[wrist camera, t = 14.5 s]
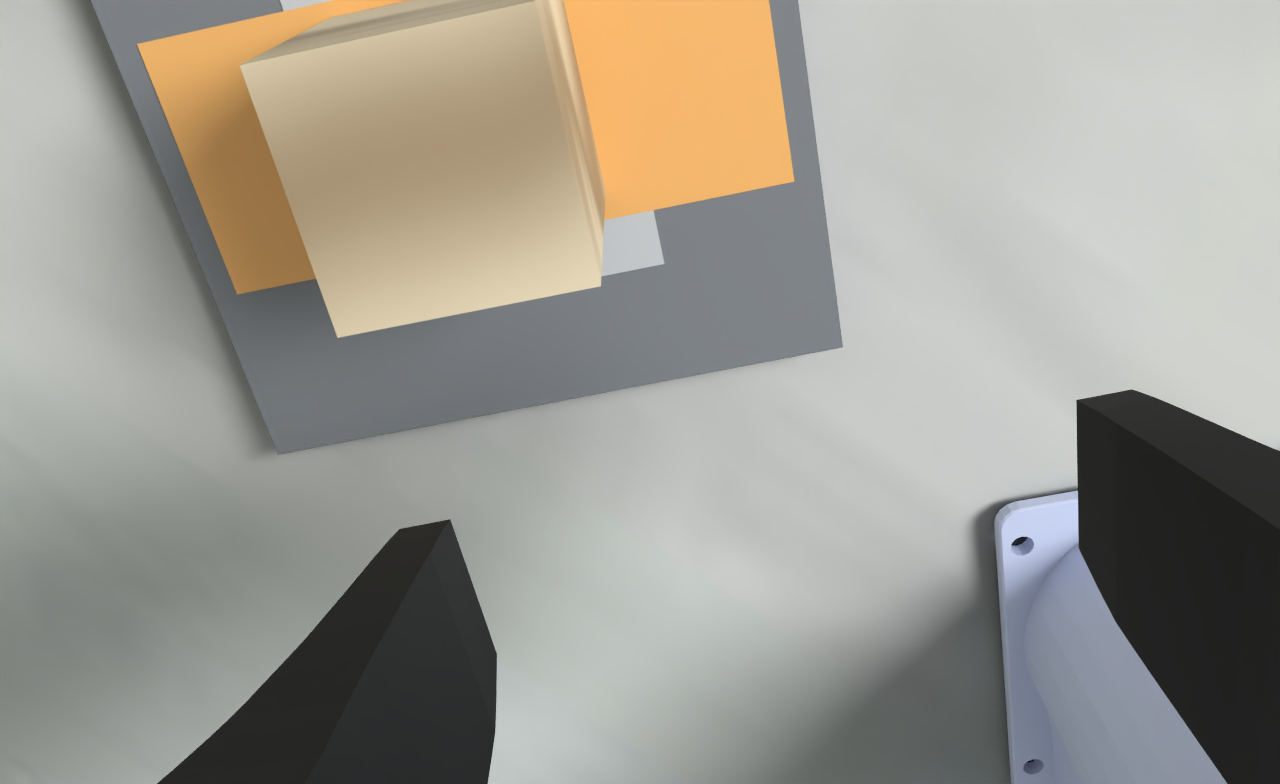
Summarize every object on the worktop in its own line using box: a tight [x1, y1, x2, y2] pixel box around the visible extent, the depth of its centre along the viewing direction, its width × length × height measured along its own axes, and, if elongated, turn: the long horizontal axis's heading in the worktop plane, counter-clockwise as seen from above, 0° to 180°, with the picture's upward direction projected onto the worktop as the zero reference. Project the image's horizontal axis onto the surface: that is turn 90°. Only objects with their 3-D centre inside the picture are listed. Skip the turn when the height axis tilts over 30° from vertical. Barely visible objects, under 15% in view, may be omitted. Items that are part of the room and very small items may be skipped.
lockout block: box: [240, 0, 606, 338], centre depth 17 cm, size 4×4×5 cm
